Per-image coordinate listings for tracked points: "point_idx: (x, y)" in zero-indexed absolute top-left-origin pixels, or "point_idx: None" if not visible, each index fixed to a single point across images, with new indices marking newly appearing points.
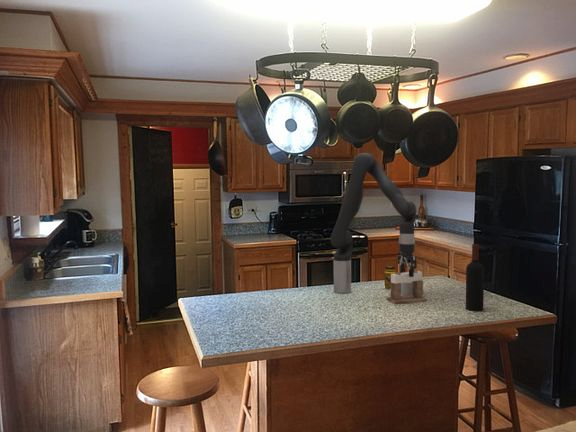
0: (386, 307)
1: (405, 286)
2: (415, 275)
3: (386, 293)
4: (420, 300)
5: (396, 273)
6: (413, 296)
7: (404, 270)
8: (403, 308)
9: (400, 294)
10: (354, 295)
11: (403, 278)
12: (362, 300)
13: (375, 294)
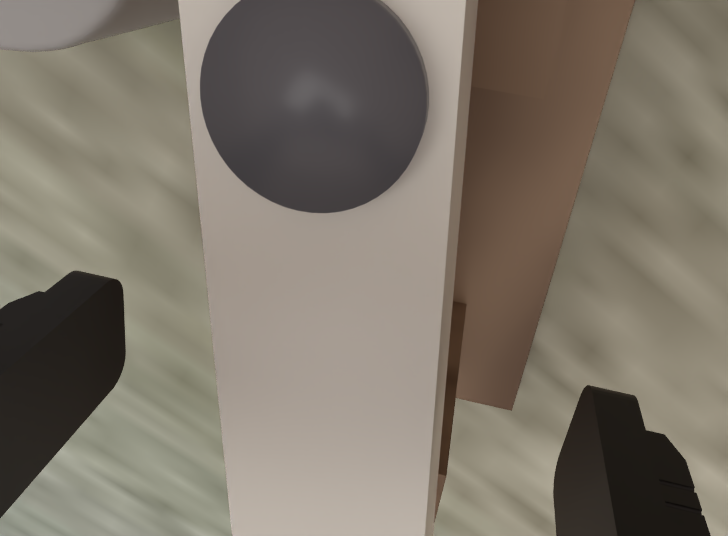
0: (546, 530)
1: (136, 25)
2: (459, 156)
3: (7, 153)
4: (620, 42)
5: None
6: None
7: (72, 320)
8: (702, 434)
9: (459, 354)
10: None
11: (433, 485)
12: (206, 529)
13: (22, 294)
